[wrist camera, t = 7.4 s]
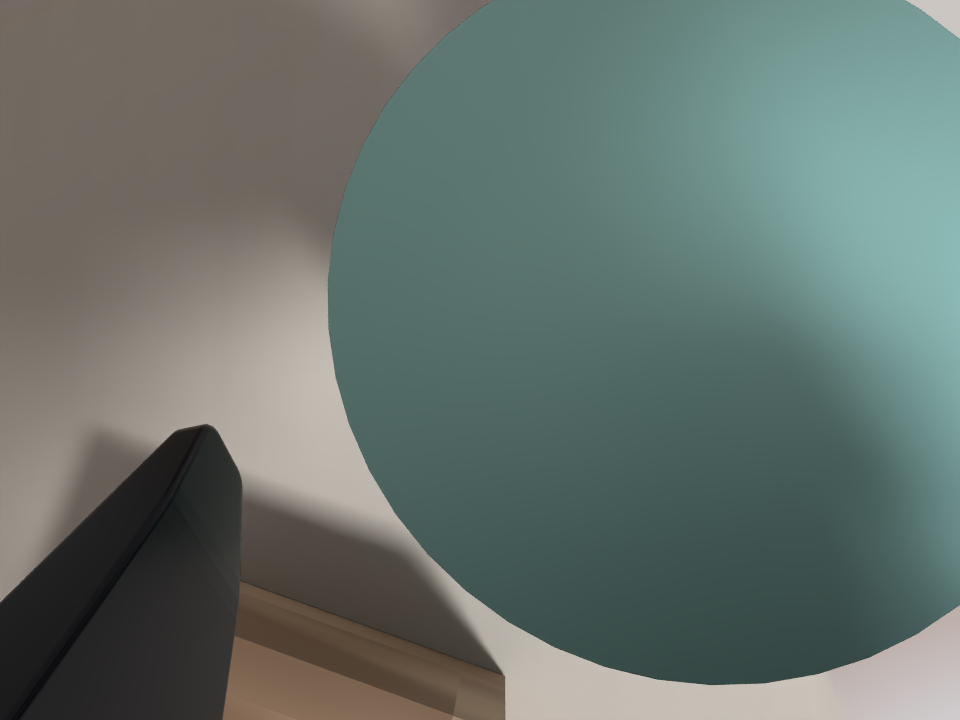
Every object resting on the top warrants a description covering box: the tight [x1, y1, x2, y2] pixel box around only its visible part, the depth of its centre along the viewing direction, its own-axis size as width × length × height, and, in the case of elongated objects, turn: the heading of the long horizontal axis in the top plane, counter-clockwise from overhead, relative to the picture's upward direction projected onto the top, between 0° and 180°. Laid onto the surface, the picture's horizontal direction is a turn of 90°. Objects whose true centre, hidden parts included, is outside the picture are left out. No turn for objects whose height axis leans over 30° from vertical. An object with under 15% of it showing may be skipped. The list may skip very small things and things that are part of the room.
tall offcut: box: [328, 0, 960, 685], centre depth 10 cm, size 4×4×13 cm
